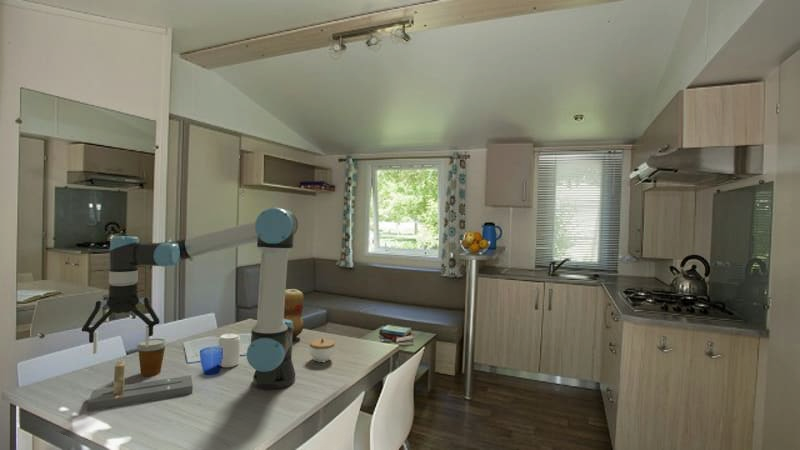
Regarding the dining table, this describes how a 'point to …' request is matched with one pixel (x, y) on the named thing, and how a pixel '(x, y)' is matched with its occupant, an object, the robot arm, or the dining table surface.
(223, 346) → the white lidded canister
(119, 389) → the beige tall block
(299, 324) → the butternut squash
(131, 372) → the dining table surface
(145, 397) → the fader console
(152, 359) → the disposable coffee cup
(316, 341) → the lidded jar
